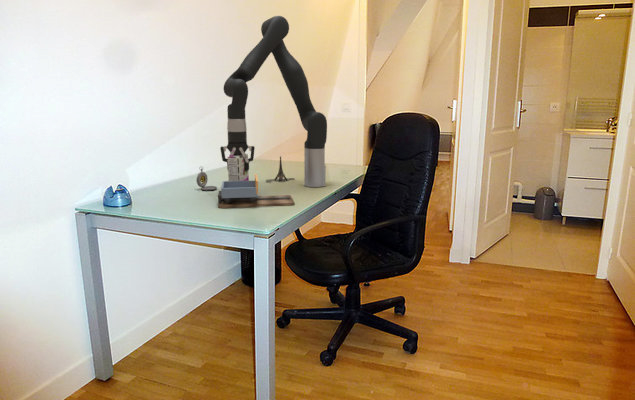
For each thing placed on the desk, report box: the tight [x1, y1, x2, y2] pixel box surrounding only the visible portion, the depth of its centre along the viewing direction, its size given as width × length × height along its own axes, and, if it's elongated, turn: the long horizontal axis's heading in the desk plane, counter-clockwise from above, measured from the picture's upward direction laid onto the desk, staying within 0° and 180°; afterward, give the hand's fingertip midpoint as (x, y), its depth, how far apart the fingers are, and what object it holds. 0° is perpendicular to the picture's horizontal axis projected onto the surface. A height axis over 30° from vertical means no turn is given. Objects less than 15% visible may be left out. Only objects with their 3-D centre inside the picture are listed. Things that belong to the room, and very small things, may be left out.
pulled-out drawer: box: [220, 173, 259, 203], centre depth 171 cm, size 13×15×8 cm
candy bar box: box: [226, 153, 250, 181], centre depth 186 cm, size 11×5×16 cm, turn 168°
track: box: [217, 190, 296, 209], centre depth 173 cm, size 28×14×4 cm, turn 99°
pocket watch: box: [196, 166, 218, 192], centre depth 196 cm, size 8×8×10 cm
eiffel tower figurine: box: [265, 154, 296, 184], centre depth 218 cm, size 15×10×13 cm
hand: (238, 171), depth 185 cm, fingers closed on candy bar box, 6 cm apart
